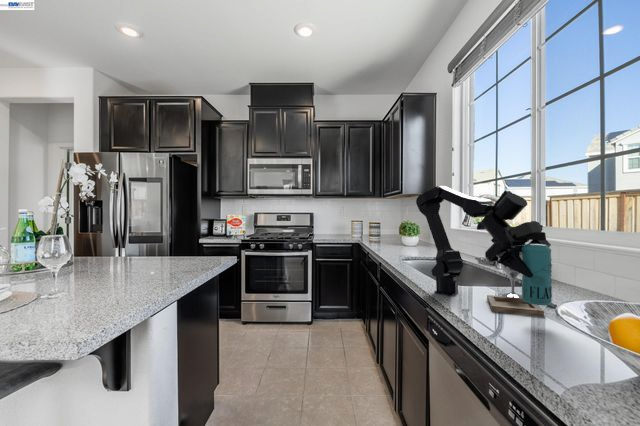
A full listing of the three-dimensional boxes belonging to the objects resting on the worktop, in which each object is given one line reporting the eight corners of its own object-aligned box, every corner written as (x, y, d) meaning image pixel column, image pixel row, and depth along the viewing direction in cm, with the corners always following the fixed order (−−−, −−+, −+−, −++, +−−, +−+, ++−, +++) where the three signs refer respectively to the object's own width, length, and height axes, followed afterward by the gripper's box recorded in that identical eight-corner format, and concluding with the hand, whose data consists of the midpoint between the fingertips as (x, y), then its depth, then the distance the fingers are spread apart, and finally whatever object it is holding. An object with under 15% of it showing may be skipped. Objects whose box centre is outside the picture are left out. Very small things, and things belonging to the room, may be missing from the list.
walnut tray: (492, 311, 85) (491, 305, 85) (487, 299, 96) (487, 294, 96) (544, 316, 80) (544, 310, 80) (532, 303, 91) (532, 298, 91)
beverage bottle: (525, 310, 73) (525, 232, 73) (517, 302, 79) (517, 230, 79) (557, 313, 71) (556, 232, 71) (546, 304, 77) (546, 230, 77)
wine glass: (518, 292, 104) (517, 251, 104) (532, 299, 96) (531, 254, 96) (495, 292, 105) (494, 251, 105) (507, 298, 97) (506, 254, 97)
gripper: (493, 212, 76) (537, 259, 66) (542, 211, 82) (590, 254, 71) (470, 239, 84) (505, 285, 73) (516, 236, 89) (556, 279, 79)
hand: (540, 275), depth 74 cm, fingers closed on beverage bottle, 6 cm apart
